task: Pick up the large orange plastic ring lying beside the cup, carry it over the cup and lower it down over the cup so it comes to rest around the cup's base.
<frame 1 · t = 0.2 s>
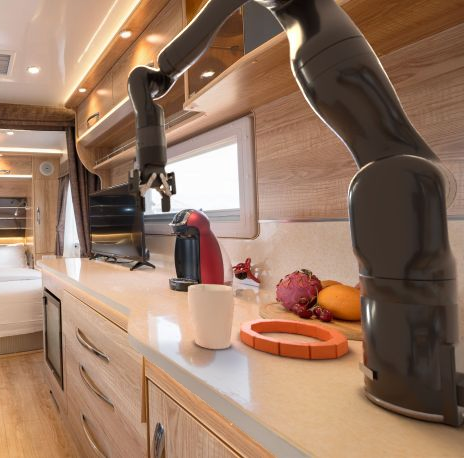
hand: (154, 212, 83), 29 cm above the table, tool pointing down, fingers open, 8 cm apart
ring: (289, 342, 69), on the table
cup: (212, 345, 70), on the table
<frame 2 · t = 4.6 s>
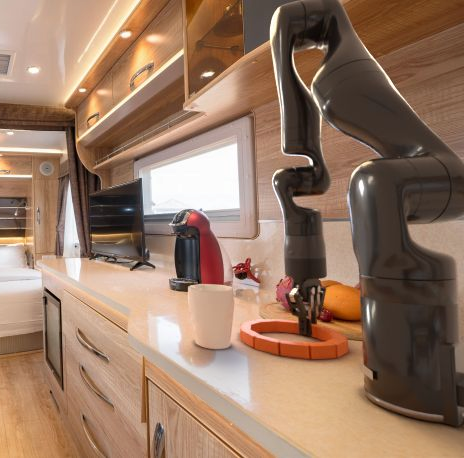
hand: (308, 333, 73), 0 cm above the table, tool pointing down, fingers closed on ring, 2 cm apart
ring: (289, 342, 69), on the table, touching gripper
everything else where it was.
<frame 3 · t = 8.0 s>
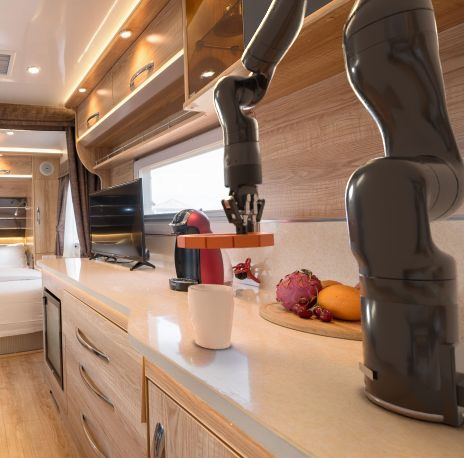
hand: (245, 242, 74), 21 cm above the table, tool pointing down, fingers closed on ring
ring: (223, 245, 70), point 21 cm above the table, touching gripper
everything else where it was.
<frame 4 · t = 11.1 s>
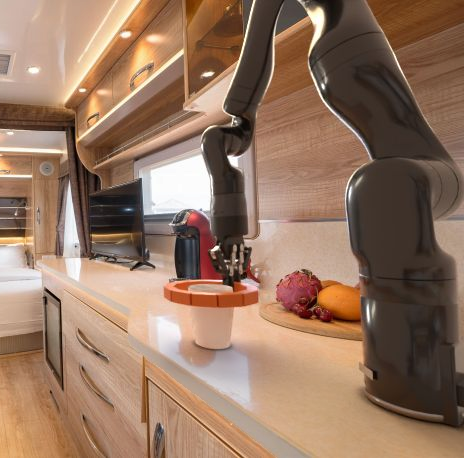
hand: (232, 291, 74), 10 cm above the table, tool pointing down, fingers closed on ring
ring: (209, 297, 70), point 10 cm above the table, touching gripper
everything else where it was.
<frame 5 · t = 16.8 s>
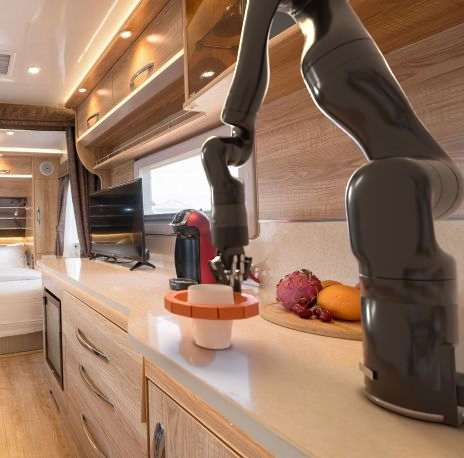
hand: (232, 301, 74), 8 cm above the table, tool pointing down, fingers closed on ring
ring: (209, 308, 70), point 7 cm above the table, touching gripper
cup: (212, 345, 70), on the table, touching gripper
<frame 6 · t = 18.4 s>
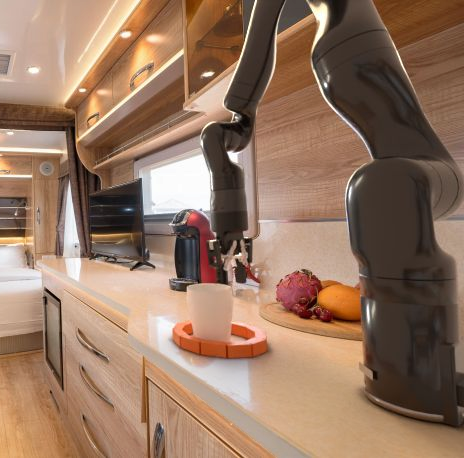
hand: (232, 284, 74), 12 cm above the table, tool pointing down, fingers open, 6 cm apart
ring: (217, 341, 71), on the table
everything else where it was.
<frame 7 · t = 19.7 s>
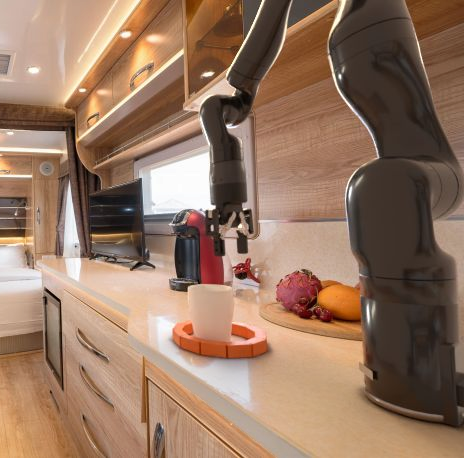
hand: (231, 254, 75), 18 cm above the table, tool pointing down, fingers open, 8 cm apart
cup: (212, 345, 70), on the table
everything else where it was.
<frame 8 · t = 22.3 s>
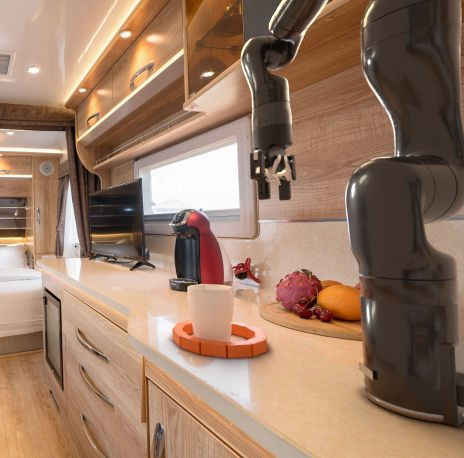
hand: (275, 200, 73), 30 cm above the table, tool pointing down, fingers open, 8 cm apart
nothing on the table moved.
at the end: ring 2.2 cm from the cup (horizontally); ring on the table; cup tilted 1° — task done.
